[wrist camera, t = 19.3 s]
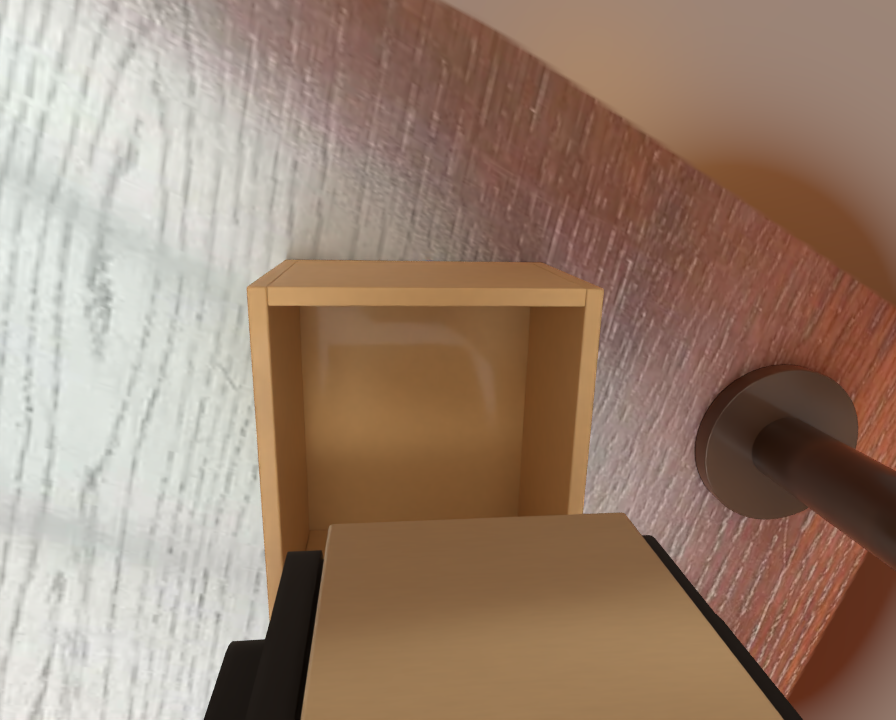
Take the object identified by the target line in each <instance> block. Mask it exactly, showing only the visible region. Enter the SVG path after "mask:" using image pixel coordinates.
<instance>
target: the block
mask: <svg viewBox="0 0 896 720" xmlns="http://www.w3.org/2000/svg"><path fill="white" fill-rule="evenodd" d="M301 720H784V719H783V718H782V717H781V715H780V714H779V713H778V711H777V710H776V709H775V708H774V706H773V705H772V704H771V702H770V701H769V700H768V698H767V697H766V696H765V695H764V693H763V692H762V691H761V689H760V688H759V687H758V685H757V684H756V683H755V682H754V680H753V679H752V678H751V676H750V675H749V674H748V673H747V671H746V670H745V669H744V667H743V666H742V665H741V663H740V662H739V661H738V660H737V658H736V657H735V656H734V654H733V653H732V652H731V651H730V649H729V648H728V647H727V645H726V644H725V643H724V641H723V640H722V639H721V638H720V636H719V635H718V634H717V632H716V631H715V630H714V628H713V627H712V626H711V625H710V623H709V622H708V621H707V619H706V618H705V617H704V616H703V614H702V613H701V612H700V610H699V609H698V608H697V606H696V605H695V604H694V603H693V601H692V600H691V599H690V597H689V596H688V595H687V593H686V592H685V591H684V590H683V588H682V587H681V586H680V584H679V583H678V582H677V581H676V579H675V578H674V577H673V575H672V574H671V573H670V571H669V570H668V569H667V568H666V566H665V565H664V564H663V562H662V561H661V560H660V559H659V557H658V556H657V555H656V553H655V552H654V551H653V549H652V548H651V547H650V546H649V544H648V543H647V542H646V540H645V539H644V538H643V536H642V535H641V534H640V533H639V531H638V530H637V529H636V527H635V526H634V525H633V524H632V522H631V521H630V520H629V518H628V517H627V516H626V514H624V513H598V514H573V515H548V516H524V517H499V518H474V519H450V520H425V521H400V522H376V523H351V524H332V525H330V526H329V528H328V535H327V542H326V549H325V556H324V563H323V569H322V576H321V583H320V590H319V597H318V604H317V611H316V617H315V624H314V631H313V638H312V645H311V652H310V658H309V665H308V672H307V679H306V686H305V693H304V700H303V706H302V713H301Z"/></svg>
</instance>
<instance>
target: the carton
mask: <svg viewBox="0 0 896 720" xmlns="http://www.w3.org/2000/svg"><path fill="white" fill-rule="evenodd" d="M603 295H604V289H602V288H600V287H598V286H595V285H593V284H591V283H588V282H586V281H584V280H581V279H579V278H577V277H574V276H572V275H570V274H567V273H565V272H563V271H560V270H558V269H556V268H553V267H551V266H549V265H546V264H544V263H542V262H462V261H372V260H284V261H283V262H282V263H280V264H279V265H278V266H276V267H275V268H273V269H272V270H270V271H269V272H268V273H266V274H265V275H263V276H262V277H260V278H259V279H258V280H256V281H255V282H253V283H252V284H251V285H249V286H248V287H247V301H248V316H249V330H250V344H251V359H252V373H253V388H254V402H255V416H256V431H257V445H258V460H259V474H260V489H261V503H262V517H263V532H264V546H265V561H266V575H267V590H268V604H269V618H270V619H271V615H272V611H273V607H274V603H275V599H276V595H277V591H278V587H279V583H280V579H281V575H282V571H283V567H284V563H285V559H286V555H287V553H288V552H291V551H313V550H322V553H323V559H324V556H325V549H326V542H327V535H328V528H329V526H330V525H332V524H351V523H376V522H400V521H425V520H450V519H474V518H499V517H524V516H548V515H573V514H583V506H584V495H585V485H586V474H587V464H588V453H589V443H590V432H591V422H592V411H593V400H594V390H595V379H596V369H597V358H598V348H599V337H600V327H601V316H602V305H603Z"/></svg>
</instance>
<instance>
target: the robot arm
mask: <svg viewBox="0 0 896 720" xmlns="http://www.w3.org/2000/svg"><path fill="white" fill-rule="evenodd" d="M642 536H643V538H644V539H645V540H646V542H647V543H648V544H649V546H650V547H651V548H652V549H653V551H654V552H655V553H656V555H657V556H658V557H659V559H660V560H661V561H662V562H663V564H664V565H665V566H666V568H667V569H668V570H669V571H670V573H671V574H672V575H673V577H674V578H675V579H676V581H677V582H678V583H679V584H680V586H681V587H682V588H683V590H684V591H685V592H686V593H687V595H688V596H689V597H690V599H691V600H692V601H693V603H694V604H695V605H696V606H697V608H698V609H699V610H700V612H701V613H702V614H703V616H704V617H705V618H706V619H707V621H708V622H709V623H710V625H711V626H712V627H713V628H714V630H715V631H716V632H717V634H718V635H719V636H720V638H721V639H722V640H723V641H724V643H725V644H726V645H727V647H728V648H729V649H730V651H731V652H732V653H733V654H734V656H735V657H736V658H737V660H738V661H739V662H740V663H741V665H742V666H743V667H744V669H745V670H746V671H747V673H748V674H749V675H750V676H751V678H752V679H753V680H754V682H755V683H756V684H757V685H758V687H759V688H760V689H761V691H762V692H763V693H764V695H765V696H766V697H767V698H768V700H769V701H770V702H771V704H772V705H773V706H774V708H775V709H776V710H777V711H778V713H779V714H780V715H781V717H782V718H783V719H784V720H803V719H802V718H801V717H800V716H799V714H798V713H797V712H796V710H795V709H794V708H793V707H792V705H791V704H790V703H789V702H788V700H787V699H786V698H785V697H784V695H783V694H782V693H781V692H780V691H779V689H778V688H777V687H776V686H775V684H774V683H773V682H772V681H771V679H770V678H769V677H768V676H767V674H766V673H765V672H764V671H763V669H762V668H761V667H760V666H759V665H758V663H757V662H756V661H755V660H754V658H753V657H752V656H751V655H750V653H749V652H748V651H747V650H746V648H745V647H744V646H743V645H742V643H741V642H740V641H739V640H738V639H737V637H736V636H735V635H734V634H733V632H732V631H731V630H730V629H729V627H728V626H727V625H726V624H725V622H724V621H723V620H722V619H721V618H720V617H719V616H718V615H717V614H715V613H714V611H713V610H712V609H711V608H710V606H709V605H708V604H707V603H706V601H705V600H704V599H703V598H702V596H701V595H700V594H699V593H698V591H697V590H696V589H695V588H694V586H693V585H692V584H691V583H690V581H689V580H688V579H687V578H686V576H685V575H684V574H683V573H682V571H681V570H680V569H679V568H678V566H677V565H676V564H675V563H674V561H673V560H672V559H671V558H670V556H669V555H668V554H667V553H666V551H665V550H664V549H663V548H662V547H661V545H660V544H659V543H658V542H657V540H656V539H655V538H654V537H653V536H650V535H642ZM323 563H324V559H323V553H322V550H313V551H291V552H288V553H287V555H286V559H285V563H284V567H283V571H282V575H281V579H280V583H279V587H278V591H277V595H276V599H275V603H274V607H273V611H272V615H271V619H270V623H269V627H268V631H267V635H266V638H265V639H263V640H247V641H232V642H231V643H230V645H229V646H228V649H227V651H226V653H225V657H224V660H223V663H222V666H221V669H220V672H219V675H218V678H217V681H216V684H215V687H214V690H213V693H212V696H211V699H210V702H209V705H208V708H207V711H206V714H205V717H204V720H301V713H302V706H303V700H304V693H305V686H306V679H307V672H308V665H309V658H310V652H311V645H312V638H313V631H314V624H315V617H316V611H317V604H318V597H319V590H320V583H321V576H322V569H323Z"/></svg>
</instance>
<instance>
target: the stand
mask: <svg viewBox="0 0 896 720" xmlns="http://www.w3.org/2000/svg"><path fill="white" fill-rule="evenodd" d="M857 439H858V420H857V415H856V411H855V408H854V405H853V403H852V401H851V399H850V397H849V396H848V394H847V393H846V391H845V390H844V389H843V388H842V387H841V386H840V385H839V384H838V383H836V382H835V381H834V380H832V379H830V378H829V377H827V376H825V375H823V374H820V373H818V372H815V371H813V370H810V369H808V368H805V367H801V366H796V365H773V366H768V367H764V368H761V369H758V370H755V371H752V372H750V373H748V374H746V375H744V376H742V377H741V378H739V379H738V380H736V381H735V382H733V383H732V384H731V385H729V386H728V387H727V388H726V389H725V390H724V391H723V392H722V393H721V394H720V395H719V396H718V397H717V398H716V399H715V401H714V402H713V403H712V404H711V406H710V407H709V409H708V411H707V412H706V414H705V416H704V418H703V420H702V422H701V425H700V428H699V431H698V435H697V439H696V447H695V456H696V464H697V469H698V472H699V475H700V477H701V479H702V481H703V483H704V485H705V486H706V487H707V489H708V490H709V491H710V492H711V493H712V494H713V495H714V496H715V497H716V498H717V499H718V500H719V501H720V502H721V503H722V504H724V505H725V506H726V507H727V508H729V509H730V510H732V511H733V512H736V513H738V514H740V515H742V516H746V517H749V518H754V519H778V518H783V517H787V516H790V515H793V514H796V513H799V512H801V511H803V510H805V509H807V508H810V509H811V510H813V511H814V512H816V513H817V514H818V515H820V516H821V517H822V518H824V519H825V520H826V521H828V522H829V523H831V524H832V525H833V526H835V527H836V528H837V529H839V530H840V531H842V532H843V533H844V534H846V535H847V536H848V537H850V538H851V539H852V540H854V541H855V542H857V543H858V544H859V545H861V546H862V547H863V548H865V549H866V550H867V551H869V552H870V553H872V554H873V555H874V556H876V557H877V558H878V559H880V560H881V561H882V562H884V563H885V564H887V565H888V566H889V567H891V568H892V569H893V570H895V571H896V471H894V470H893V469H891V468H889V467H887V466H885V465H883V464H881V463H880V462H878V461H876V460H874V459H872V458H870V457H868V456H867V455H865V454H863V453H861V452H859V451H857V450H855V449H856V445H857Z"/></svg>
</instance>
